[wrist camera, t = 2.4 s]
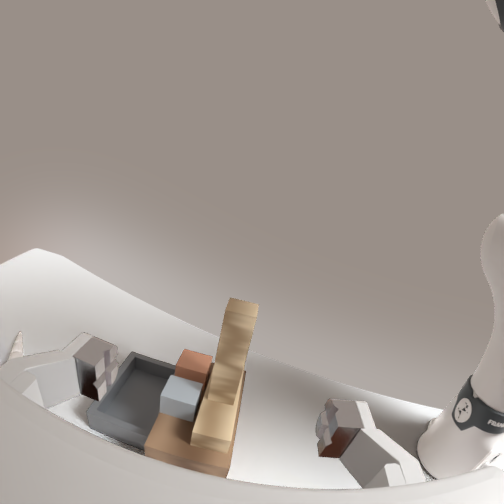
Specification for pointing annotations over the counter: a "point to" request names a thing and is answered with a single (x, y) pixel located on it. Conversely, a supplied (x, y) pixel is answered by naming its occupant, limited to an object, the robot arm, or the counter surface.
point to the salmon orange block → (194, 366)
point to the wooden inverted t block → (225, 379)
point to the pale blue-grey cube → (180, 398)
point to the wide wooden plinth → (188, 443)
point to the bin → (131, 400)
